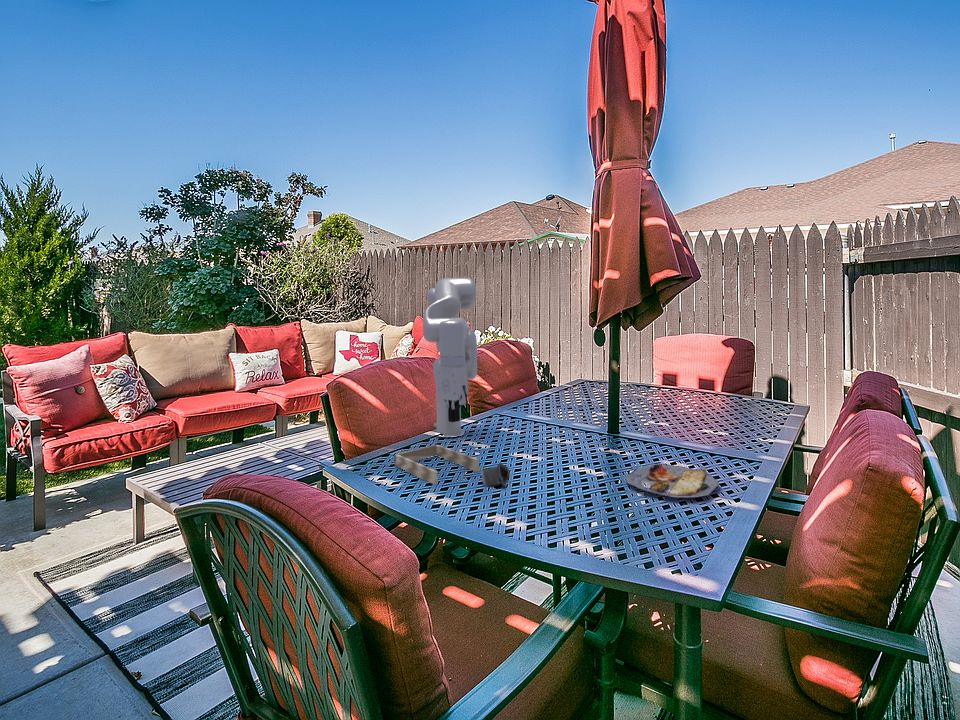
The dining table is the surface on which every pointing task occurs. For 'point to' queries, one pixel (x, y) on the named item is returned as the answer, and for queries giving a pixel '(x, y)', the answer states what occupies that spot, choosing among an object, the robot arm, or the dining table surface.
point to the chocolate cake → (495, 475)
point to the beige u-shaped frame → (424, 472)
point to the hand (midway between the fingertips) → (454, 421)
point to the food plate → (665, 475)
